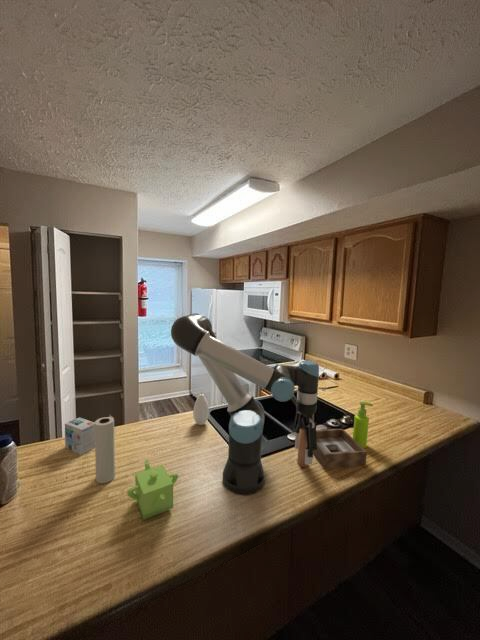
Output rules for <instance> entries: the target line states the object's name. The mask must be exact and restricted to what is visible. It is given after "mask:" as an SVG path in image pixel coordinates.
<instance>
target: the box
mask: <svg viewBox="0 0 480 640" xmlns="http://www.w3.org/2000/svg"><path fill="white" fill-rule="evenodd" d="M316 441H317V450H313V457H314V458H315V460H316V461H317V462H318V463H319V465H320V466H321V468H322V469H323V470H329V469H330V470H333V469H343V468H357V467H366V466H367V456H368V454H367V453H368V451H367V450H366V449H365V448H363V447H362V446H360V445H359V444H358V443H357V442H356V441H355V440H354V439H353V436H351V435H350V434H349V433H348V432H347V431H346V430H344V429H343V428H332V429H331V428H330V429H316ZM335 450H336V452H335ZM331 451H334V452H331Z"/></svg>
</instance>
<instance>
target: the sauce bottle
mask: <svg viewBox="0 0 480 640" xmlns="http://www.w3.org/2000/svg"><path fill="white" fill-rule="evenodd" d="M200 391H201V392H200V394H199V395H198V397H197V398H196V400H195V402H194V406H193V409H192V410H193V411H192V414H193V415H192V416H193V421H194V422H195V423H196V424H197V425H199V426H202V425H205V424H206V423H207V422H208V420H209V417H210V406H209V402H208V399H207V398H206V397H205V394H204V393H203V390H202V389H201V390H200Z"/></svg>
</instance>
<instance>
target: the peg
mask: <svg viewBox="0 0 480 640" xmlns="http://www.w3.org/2000/svg"><path fill="white" fill-rule="evenodd" d="M305 447H307V442H306V434H305V429H304V428H301V429H300V432H299V447H298V449H297V466H298V467H301V468H307V467H308V466H309V464H305V451H306V449H305Z"/></svg>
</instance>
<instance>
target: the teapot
mask: <svg viewBox="0 0 480 640" xmlns="http://www.w3.org/2000/svg"><path fill="white" fill-rule="evenodd" d="M144 466H145V467H144V470H142V471H139V472H136V473H135V475H134V476H135V477H134V478H135V483H134V484H135V485H134V486H132V487H130V488H129V489H128V490H127V496H128V497H130V498H131V499H133V500H136V502H137V505H138V508H139V511H140V514H141V517H142V520H143V521H144V520H147V519H150V518H152V517H154V516H156V515H159V514H163V513H164V512H166V511H169V510H171V509H174V484H175V483H176V482H177V480H178V478H179V474H178V473H176V472H173V473H168V471H167V470H166V467H165V466H164V465H163V464H162V465H159V466H156V467H152V468H151V465H150V462H149V460H147V459H145V460H144Z"/></svg>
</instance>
